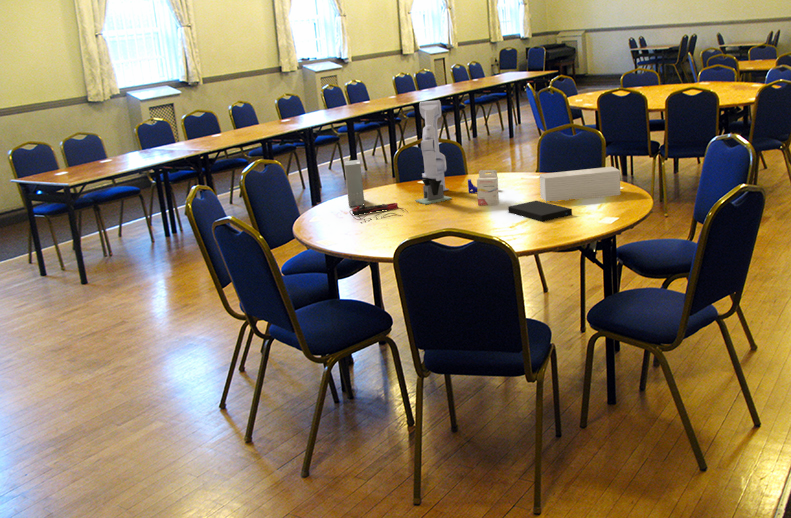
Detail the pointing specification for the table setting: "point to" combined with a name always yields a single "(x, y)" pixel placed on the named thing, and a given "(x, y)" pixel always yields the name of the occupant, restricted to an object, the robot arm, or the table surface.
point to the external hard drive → (540, 211)
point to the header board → (432, 200)
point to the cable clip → (471, 187)
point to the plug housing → (429, 194)
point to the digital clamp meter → (375, 209)
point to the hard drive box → (354, 182)
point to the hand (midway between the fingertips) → (432, 194)
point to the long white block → (580, 184)
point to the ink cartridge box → (487, 188)
